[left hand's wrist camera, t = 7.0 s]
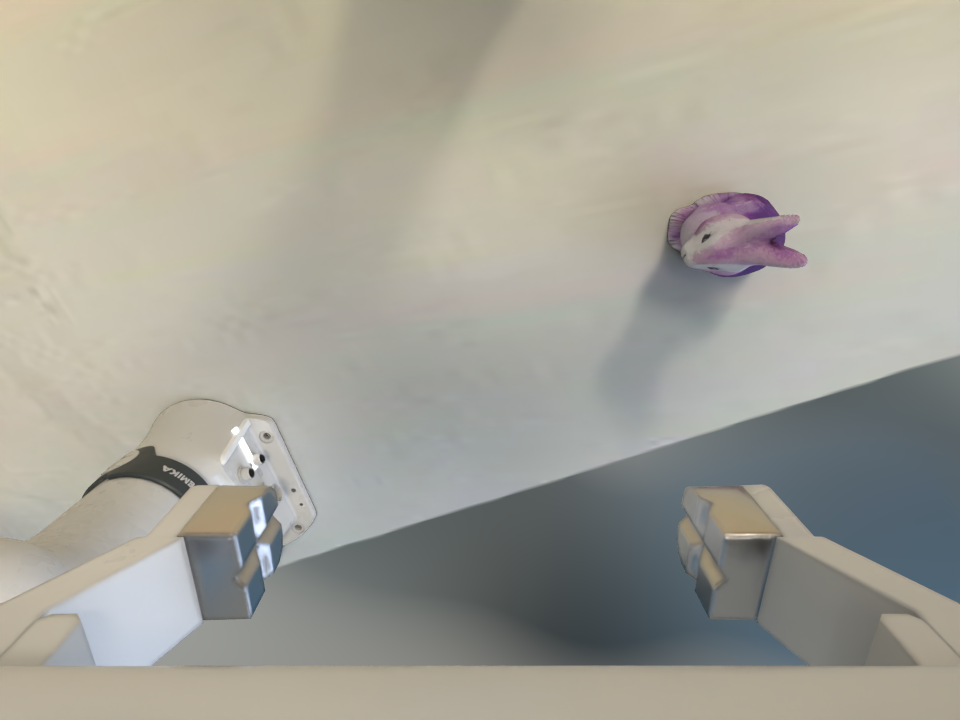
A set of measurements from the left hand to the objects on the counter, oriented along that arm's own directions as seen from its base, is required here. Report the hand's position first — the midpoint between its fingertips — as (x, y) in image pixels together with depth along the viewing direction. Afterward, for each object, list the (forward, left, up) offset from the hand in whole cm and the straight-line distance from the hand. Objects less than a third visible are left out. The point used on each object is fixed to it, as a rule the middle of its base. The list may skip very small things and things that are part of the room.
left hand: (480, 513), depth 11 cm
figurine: (0, +24, -48) cm, 54 cm away
